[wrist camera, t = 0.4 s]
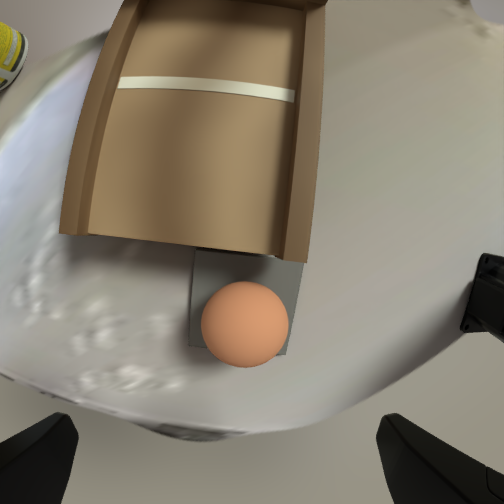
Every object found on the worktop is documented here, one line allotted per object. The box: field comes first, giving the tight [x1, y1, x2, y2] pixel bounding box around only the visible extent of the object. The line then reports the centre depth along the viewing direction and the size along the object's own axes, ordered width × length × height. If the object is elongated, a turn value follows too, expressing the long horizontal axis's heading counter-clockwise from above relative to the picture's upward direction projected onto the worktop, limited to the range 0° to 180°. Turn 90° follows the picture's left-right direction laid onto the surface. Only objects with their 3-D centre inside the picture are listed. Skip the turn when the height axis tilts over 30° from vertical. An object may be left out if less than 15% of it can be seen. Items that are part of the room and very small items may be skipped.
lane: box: [59, 0, 328, 263], centre depth 13 cm, size 11×16×5 cm
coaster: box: [189, 249, 304, 355], centre depth 17 cm, size 6×6×1 cm
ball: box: [201, 281, 289, 368], centre depth 15 cm, size 4×4×4 cm
